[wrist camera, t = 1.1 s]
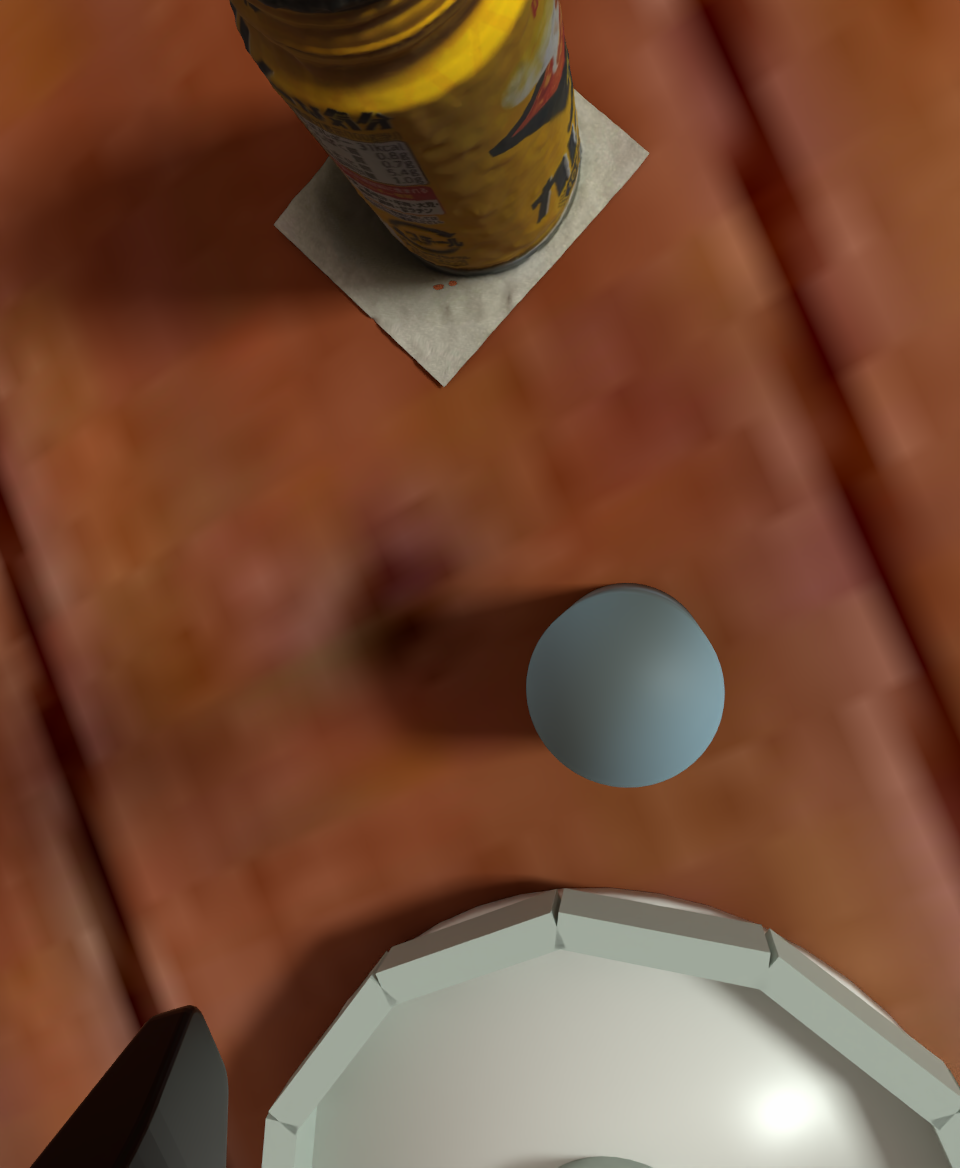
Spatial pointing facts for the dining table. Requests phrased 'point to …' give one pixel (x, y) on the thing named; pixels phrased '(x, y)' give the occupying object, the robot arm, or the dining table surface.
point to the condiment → (437, 155)
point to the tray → (612, 1051)
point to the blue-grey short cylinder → (625, 687)
